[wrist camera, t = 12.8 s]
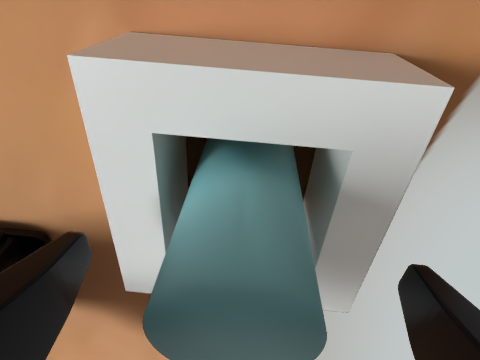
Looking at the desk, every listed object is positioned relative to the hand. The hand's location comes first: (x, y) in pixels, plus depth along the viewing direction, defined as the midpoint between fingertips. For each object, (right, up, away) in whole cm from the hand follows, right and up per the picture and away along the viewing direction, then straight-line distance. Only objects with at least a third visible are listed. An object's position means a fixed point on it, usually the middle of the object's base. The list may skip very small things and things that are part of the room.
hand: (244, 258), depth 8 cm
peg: (0, +3, +5) cm, 6 cm away
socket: (0, +3, +5) cm, 6 cm away
